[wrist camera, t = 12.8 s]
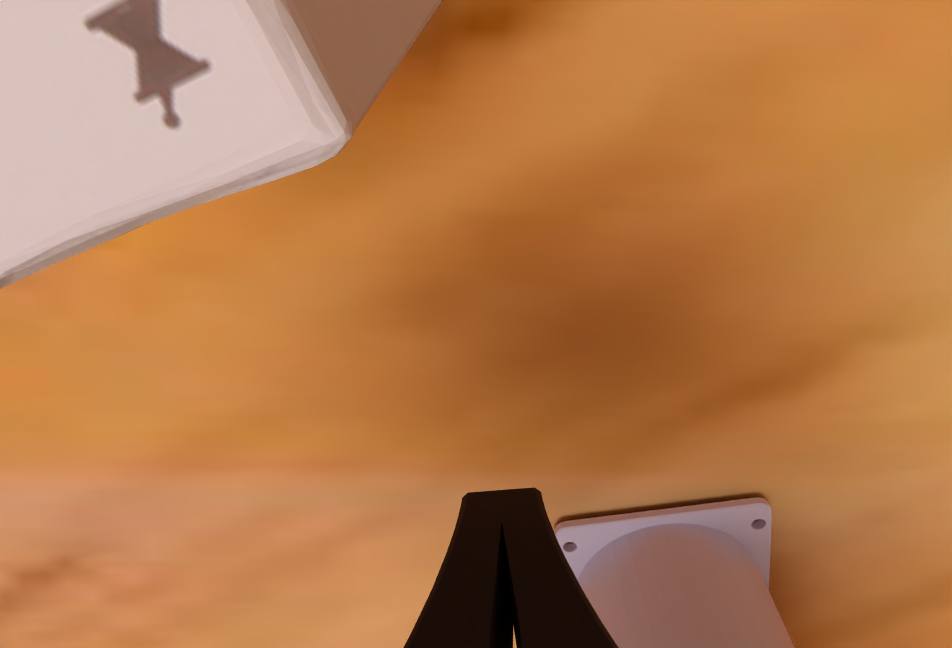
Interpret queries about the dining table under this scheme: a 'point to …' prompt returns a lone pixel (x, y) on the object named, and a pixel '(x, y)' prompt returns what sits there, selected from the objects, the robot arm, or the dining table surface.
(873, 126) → the dining table surface
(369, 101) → the skincare box
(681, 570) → the robot arm
